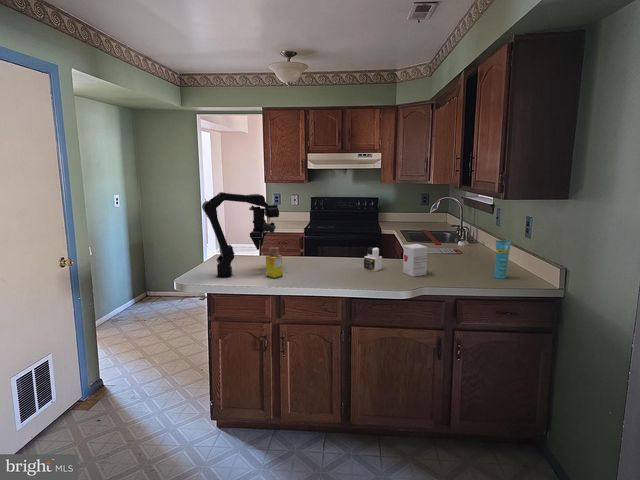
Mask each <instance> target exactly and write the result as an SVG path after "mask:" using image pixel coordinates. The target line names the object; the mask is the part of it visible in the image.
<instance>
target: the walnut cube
mask: <svg viewBox="0 0 640 480" xmlns="http://www.w3.org/2000/svg"><path fill="white" fill-rule="evenodd" d="M279 248H280V247H278V246H277V247H276V246H275V247H273V246H271V247H269V249H268V250H269V255H268V256H270V257H278V255H280V252H279V251H280V250H279Z"/></svg>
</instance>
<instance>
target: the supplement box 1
mask: <svg viewBox="0 0 640 480" xmlns="http://www.w3.org/2000/svg"><path fill="white" fill-rule="evenodd" d="M265 263H266V265H265V267H266V270H265V271H266V277H267V278H270V279H277V278H281V277H283V256H282V255H281V254H279V255H278V257H270V256H269V255H266V256H265Z"/></svg>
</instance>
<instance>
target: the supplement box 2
mask: <svg viewBox="0 0 640 480" xmlns="http://www.w3.org/2000/svg"><path fill="white" fill-rule="evenodd" d="M428 249H429V247H428V246H425V245H423V244H419V243H413V244H404V245H403V256H402V257H403V259H402V260H403V261H402V273H403V274H406V275H408V276H410V277H412V278H413V277H419V276H426V275H427V264H428Z"/></svg>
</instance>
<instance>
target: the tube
mask: <svg viewBox="0 0 640 480" xmlns="http://www.w3.org/2000/svg"><path fill="white" fill-rule="evenodd" d="M511 244H512V240H511V239H510V240H495V268H494V270H495V271H494V277H495V278H496V279H501V280H502V279H503V280H505V279H506V277H507V269H508V261H509V255H510V250H511Z"/></svg>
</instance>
